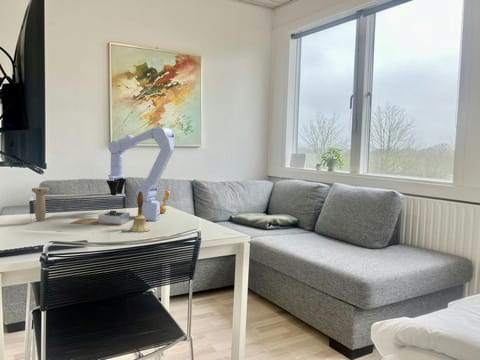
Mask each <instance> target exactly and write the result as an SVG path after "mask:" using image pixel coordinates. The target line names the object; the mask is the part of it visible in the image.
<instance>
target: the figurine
mask: <svg viewBox="0 0 480 360" xmlns="http://www.w3.org/2000/svg"><path fill="white" fill-rule="evenodd" d="M164 192H165V194H164V195H163V196H162V198H163V199H162V203H163V204H162V205H160V214H164V213H166V212H167V207H166V204H167V201H168V200H169V198H170V196H171V191H170V190H167V189H165V191H164Z"/></svg>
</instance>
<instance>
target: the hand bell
mask: <svg viewBox="0 0 480 360" xmlns="http://www.w3.org/2000/svg"><path fill="white" fill-rule="evenodd" d="M136 198H137V199H136V202H137V208H138V209H137V215H136V216H135V217H134V218H133V222H132V226H131V227H129V231H130V232H133V233H145V232H146V233H147V232H149V231H151V229H150V227H149V226H148V224H147V220H146V219H145V217H144V216H142V205H143V201H144V198H143V194H142V192H139V194H138V197H137V196H136Z"/></svg>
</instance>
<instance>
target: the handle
mask: <svg viewBox="0 0 480 360" xmlns="http://www.w3.org/2000/svg"><path fill="white" fill-rule="evenodd" d="M49 191H50V188H49V187H42V186H41V187H31V192H32V193H35V208H34V209H35V211H34V214H35V219H36V222H39V223H41V222H45V220H46V213H47V212H46V211H47V210H46V195H45V194H46V193H48V192H49Z"/></svg>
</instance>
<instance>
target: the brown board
mask: <svg viewBox="0 0 480 360" xmlns="http://www.w3.org/2000/svg"><path fill="white" fill-rule="evenodd" d="M109 212H110V215H113V216H116V212H117V210H109ZM130 221H131V219H129V221H127V222H126V223H129V222H130ZM126 223H124V224H122V225H114V224H98V218H94V217H93V218H91V217H81V218H79V219H76V220H74V221H71V222H69V223H68V224H70V225H72V224H73V225H88V226H105V227H108V226H109V227H121V226H123V225H125V224H126Z"/></svg>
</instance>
